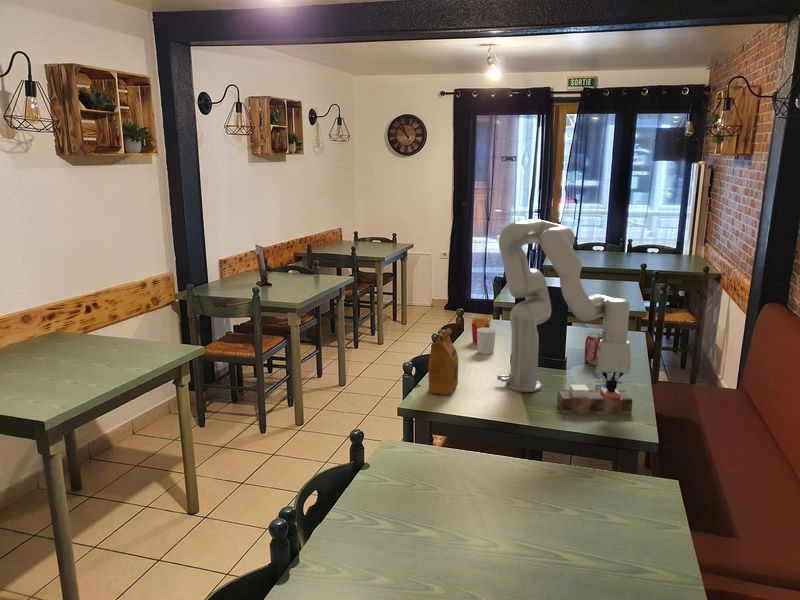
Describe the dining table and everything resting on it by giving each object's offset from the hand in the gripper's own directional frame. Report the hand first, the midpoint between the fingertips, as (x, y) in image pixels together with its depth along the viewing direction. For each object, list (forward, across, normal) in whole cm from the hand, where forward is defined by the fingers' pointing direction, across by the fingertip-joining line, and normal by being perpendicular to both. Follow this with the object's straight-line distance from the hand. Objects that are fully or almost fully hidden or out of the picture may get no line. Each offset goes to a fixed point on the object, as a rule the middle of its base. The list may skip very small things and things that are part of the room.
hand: (610, 390), depth 198 cm
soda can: (+6, +7, +47) cm, 48 cm away
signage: (+7, +6, +20) cm, 22 cm away
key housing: (+6, -5, 0) cm, 8 cm away
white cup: (+6, -35, +61) cm, 71 cm away
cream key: (+3, -10, 0) cm, 11 cm away
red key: (+4, 0, 0) cm, 4 cm away
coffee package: (+6, -54, +15) cm, 57 cm away
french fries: (+6, -36, +75) cm, 84 cm away
